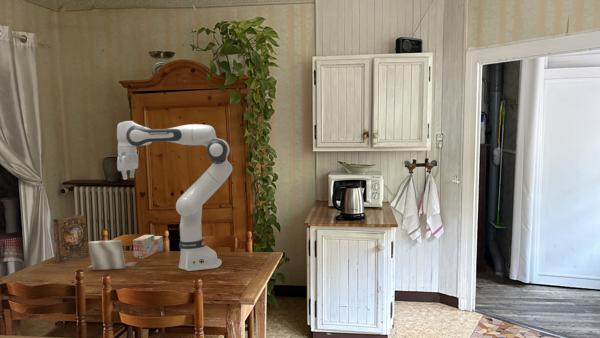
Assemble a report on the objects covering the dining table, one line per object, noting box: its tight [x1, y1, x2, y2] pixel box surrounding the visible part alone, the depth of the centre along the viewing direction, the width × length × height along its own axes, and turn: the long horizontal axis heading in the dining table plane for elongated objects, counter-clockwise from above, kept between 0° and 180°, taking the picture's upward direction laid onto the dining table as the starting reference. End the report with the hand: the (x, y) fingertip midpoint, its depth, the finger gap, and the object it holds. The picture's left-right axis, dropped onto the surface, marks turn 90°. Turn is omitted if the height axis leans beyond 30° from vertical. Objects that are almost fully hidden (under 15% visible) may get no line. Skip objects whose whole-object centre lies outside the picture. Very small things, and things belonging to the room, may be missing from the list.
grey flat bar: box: [86, 261, 139, 270], centre depth 213 cm, size 24×6×2 cm, turn 94°
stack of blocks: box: [132, 234, 165, 260], centre depth 236 cm, size 21×6×12 cm, turn 168°
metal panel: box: [87, 239, 127, 271], centre depth 206 cm, size 16×17×2 cm
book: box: [52, 214, 89, 264], centre depth 232 cm, size 16×6×25 cm, turn 144°
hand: (128, 178), depth 209 cm, fingers open, 8 cm apart
